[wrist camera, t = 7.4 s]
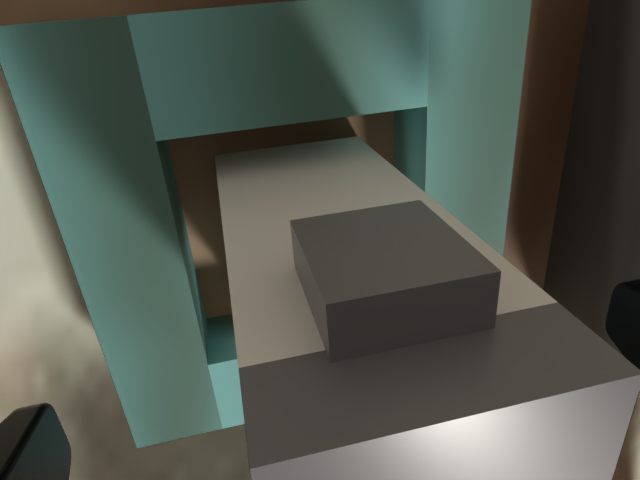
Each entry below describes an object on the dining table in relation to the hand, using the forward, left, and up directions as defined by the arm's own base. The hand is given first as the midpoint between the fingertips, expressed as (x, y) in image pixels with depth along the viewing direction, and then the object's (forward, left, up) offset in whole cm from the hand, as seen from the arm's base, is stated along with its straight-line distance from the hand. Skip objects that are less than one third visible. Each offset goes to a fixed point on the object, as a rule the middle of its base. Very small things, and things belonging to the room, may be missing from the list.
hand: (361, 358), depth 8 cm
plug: (0, 0, -6) cm, 6 cm away
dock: (+7, 0, -7) cm, 10 cm away
